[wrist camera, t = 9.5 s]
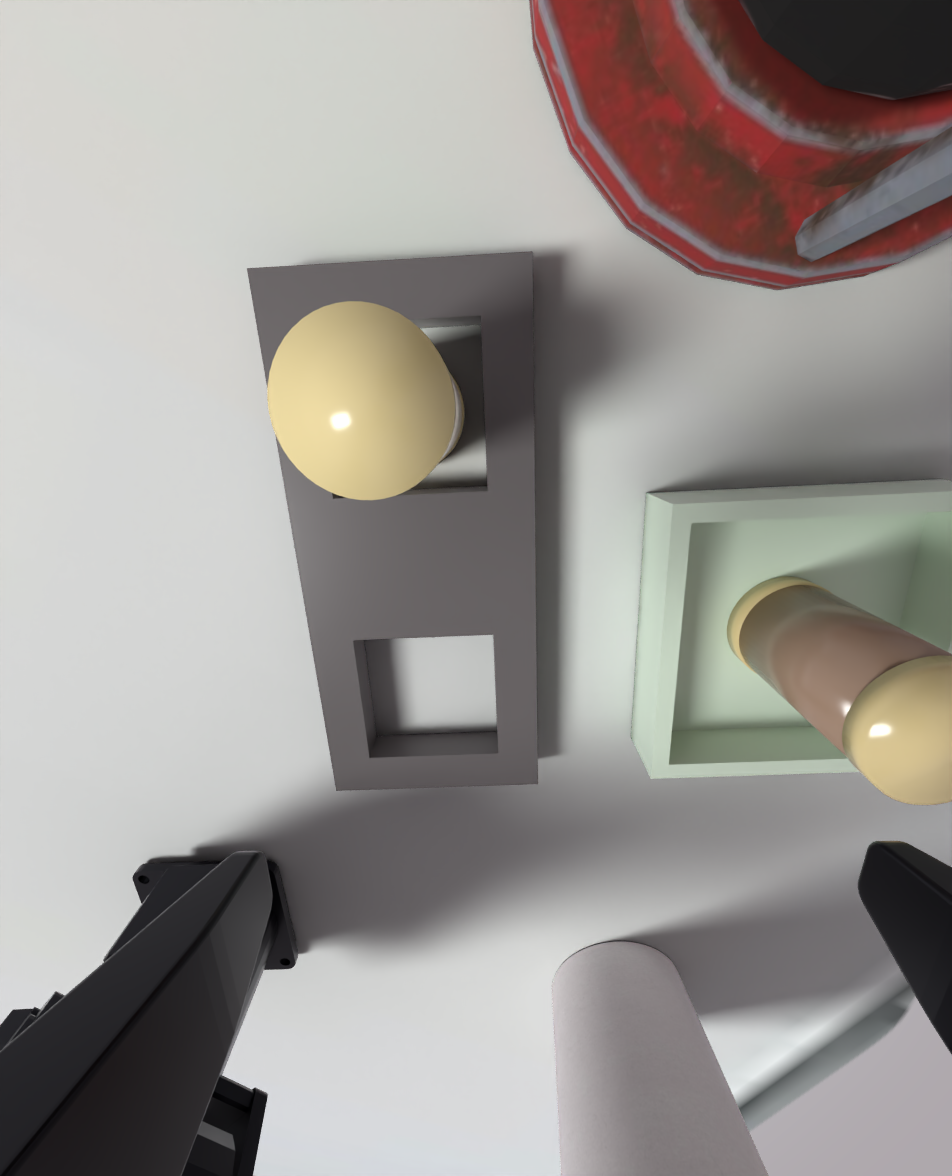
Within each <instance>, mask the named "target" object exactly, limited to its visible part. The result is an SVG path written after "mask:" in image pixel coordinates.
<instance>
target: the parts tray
mask: <svg viewBox="0 0 952 1176" xmlns="http://www.w3.org/2000/svg"><path fill="white" fill-rule="evenodd" d="M784 576H794V577H800V578H803V579H806V580H809V581H811V582H813V583H815V584H817V585H819V586H821V587H823V588H825V589H827V590H828V591H830V592H831V593H832V594H834V595H835V596H837V597H839V598H841V599H843V600H845V601H847V602H849V603H851V604H853V605H855V606H857V607H859V608H861V609H863V610H865V611H867V612H869V613H871V614H873V615H875V616H877V617H879V618H881V619H883V620H885V621H887V622H889V623H891V624H893V625H895V626H897V627H899V628H901V629H903V630H905V631H907V632H909V633H911V634H913V635H915V636H917V637H919V638H921V639H923V640H925V641H927V642H929V643H931V644H933V645H935V646H937V647H939V648H941V649H943V650H945V651H947V652H949V653H951V654H952V481H951V480H943V479H932V480H911V481H889V482H868V483H847V484H826V485H804V486H783V487H762V488H741V489H720V490H698V491H677V492H656V493H646V502H645V518H644V534H643V550H642V566H641V582H640V598H639V614H638V630H637V646H636V662H635V678H634V694H633V710H632V726H631V739H632V741H633V743H634V745H635V747H636V749H637V751H638V753H639V755H640V757H641V760H642V762H643V764H644V766H645V768H646V770H647V772H648V774H649V776H650V778H651V779H666V778H696V777H726V776H756V775H787V774H817V773H847V772H859V771H858V770H857V769H856V768H855V767H854V766H853V765H852V763H851V762H850V761H849V759H848V758H847V757H846V756H845V755H844V754H843V753H842V752H841V751H840V750H839V749H838V748H837V747H835V746H834V745H833V744H832V743H831V742H830V741H829V740H828V739H827V738H826V737H825V736H824V735H823V734H821V733H820V732H819V731H818V730H817V729H816V728H815V727H814V726H813V725H812V724H811V723H810V722H808V721H807V720H806V719H805V718H804V717H803V716H802V715H801V714H800V713H799V712H798V711H797V710H796V709H794V708H793V707H792V706H791V705H790V704H789V703H788V702H787V701H786V700H785V699H784V698H783V697H782V696H780V695H779V694H778V693H777V692H776V691H775V690H774V689H773V688H772V687H771V686H770V685H769V684H768V683H766V682H765V681H764V680H763V679H762V678H761V677H760V676H759V675H758V674H756V673H755V672H753V671H752V670H751V669H749V668H748V667H747V666H746V665H745V664H744V663H743V662H742V661H741V660H740V659H739V658H737V656H736V655H735V654H734V653H733V651H732V650H731V648H730V646H729V643H728V639H727V624H728V620H729V617H730V614H731V612H732V610H733V608H734V606H735V605H736V603H737V602H738V601H739V600H740V598H741V597H742V596H743V595H744V594H745V593H746V592H748V591H749V590H750V589H752V588H753V587H755V586H756V585H758V584H760V583H762V582H764V581H766V580H769V579H772V578H777V577H784Z"/></svg>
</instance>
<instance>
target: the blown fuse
mask: <svg viewBox="0 0 952 1176" xmlns="http://www.w3.org/2000/svg"><path fill="white" fill-rule="evenodd" d="M727 639H728V643H729V646H730V648H731V650H732V651H733V653H734V654H735V655H736V656H737V658H739V659H740V660H741V661H742V662H743V663H744V664H745V665H746V666H747V667H748V668H749V669H751V670H752V671H753V672H755V673H756V674H758V675H759V676H760V677H761V678H762V679H763V680H764V681H765V682H766V683H768V684H769V685H770V686H771V687H772V688H773V689H774V690H775V691H776V692H777V693H778V694H779V695H780V696H782V697H783V698H784V699H785V700H786V701H787V702H788V703H789V704H790V705H791V706H792V707H793V708H794V709H796V710H797V711H798V712H799V713H800V714H801V715H802V716H803V717H804V718H805V719H806V720H807V721H808V722H810V723H811V724H812V725H813V726H814V727H815V728H816V729H817V730H818V731H819V732H820V733H821V734H823V735H824V736H825V737H826V738H827V739H828V740H829V741H830V742H831V743H832V744H833V745H834V746H835V747H837V748H838V749H839V750H840V751H841V752H842V753H843V754H844V755H845V756H846V757H847V758H848V759H849V761H850V762H851V763H852V765H853V766H854V767H855V768H856V769H857V770H858V771H859V772H861V773H862V774H863V775H864V776H865V777H866V778H867V779H868V780H869V781H870V782H871V783H872V784H873V785H874V786H875V787H877V788H878V789H879V790H880V791H881V792H882V793H884V794H885V795H887V796H888V797H890V798H892V799H895V800H897V801H900V802H904V803H907V804H914V805H935V804H942V803H947V802H951V801H952V654H951V653H949V652H947V651H945V650H943V649H941V648H939V647H937V646H935V645H933V644H931V643H929V642H927V641H925V640H923V639H921V638H919V637H917V636H915V635H913V634H911V633H909V632H907V631H905V630H903V629H901V628H899V627H897V626H895V625H893V624H891V623H889V622H887V621H885V620H883V619H881V618H879V617H877V616H875V615H873V614H871V613H869V612H867V611H865V610H863V609H861V608H859V607H857V606H855V605H853V604H851V603H849V602H847V601H845V600H843V599H841V598H839V597H837V596H835V595H834V594H832V593H831V592H830V591H828V590H827V589H825V588H823V587H821V586H819V585H817V584H815V583H813V582H811V581H809V580H806V579H803V578H800V577H794V576H784V577H777V578H772V579H769V580H766V581H764V582H762V583H760V584H758V585H756V586H755V587H753V588H752V589H750V590H749V591H748V592H746V593H745V594H744V595H743V596H742V597H741V598H740V600H739V601H738V602H737V603H736V605H735V606H734V608H733V610H732V612H731V614H730V617H729V620H728V624H727Z"/></svg>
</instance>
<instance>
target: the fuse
mask: <svg viewBox="0 0 952 1176" xmlns="http://www.w3.org/2000/svg"><path fill="white" fill-rule="evenodd" d="M268 407H269V414H270V418H271V422H272V426H273V429H274V431H275V434H276V437H277V439H278V441H279V443H280V445H281V447H282V449H283V450H284V452H285V453H286V455H287V456H288V458H289V459H290V460H291V462H292V463H293V464H294V465H295V466H296V468H297V469H298V470H299V471H300V472H301V473H303V474H304V475H305V476H306V477H307V478H308V479H310V480H311V481H312V482H314V483H315V484H316V485H318V486H320V487H321V488H323V489H325V490H327V491H329V492H331V493H334V494H336V495H339V496H343V497H346V498H350V499H357V500H378V499H385V498H389V497H393V496H396V495H398V494H401V493H403V492H405V491H407V490H409V489H411V488H412V487H414V486H415V485H417V484H418V483H419V482H421V481H422V480H423V479H424V478H425V477H426V476H427V475H428V474H429V473H430V472H431V471H432V470H433V469H434V468H435V467H436V466H437V464H438V463H439V462H441V461H442V460H443V459H445V458H446V457H447V456H448V455H449V453H450V452H451V451H452V450H453V449H454V447H455V446H456V444H457V442H458V441H459V438H460V436H461V433H462V430H463V426H464V419H465V409H464V402H463V397H462V394H461V391H460V389H459V386H458V384H457V383H456V381H455V379H454V377H453V376H452V375H451V373H450V372H449V371H448V369H447V367H446V365H445V363H444V361H443V359H442V357H441V355H440V354H439V352H438V350H437V349H436V348H435V346H434V345H433V343H432V342H431V340H430V339H429V338H428V337H427V336H426V335H425V334H424V332H423V331H422V330H421V329H420V328H418V327H417V326H416V325H415V324H414V323H413V322H411V321H410V320H409V319H407V318H406V317H404V316H403V315H401V314H400V313H398V312H395V311H393V310H391V309H389V308H387V307H384V306H381V305H377V304H374V303H368V302H362V301H347V302H339V303H334V304H331V305H327V306H324V307H322V308H320V309H317V310H315V311H313V312H311V313H310V314H308V315H307V316H305V317H304V318H302V319H301V320H300V321H299V322H298V323H297V324H296V325H295V326H294V327H292V329H291V330H290V331H289V332H288V334H287V335H286V336H285V337H284V339H283V341H282V342H281V344H280V346H279V347H278V349H277V352H276V354H275V356H274V359H273V361H272V365H271V369H270V372H269V379H268Z"/></svg>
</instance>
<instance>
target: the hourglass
mask: <svg viewBox="0 0 952 1176" xmlns="http://www.w3.org/2000/svg"><path fill="white" fill-rule="evenodd" d="M529 3H530V15H531V27H532V39H533V49H534V52H535V55H536V58H537V61H538V64H539V66H540V69H541V72H542V75H543V78H544V81H545V83H546V86H547V89H548V92H549V95H550V98H551V101H552V103H553V106H554V109H555V112H556V115H557V118H558V120H559V123H560V126H561V129H562V132H563V135H564V137H565V140H566V143H567V146H568V149H569V152H570V154H571V155H572V156H573V158H574V159H575V160H576V162H577V163H578V164H579V166H580V167H581V168H582V170H583V171H584V172H585V174H586V175H587V176H588V178H589V179H590V180H591V182H592V183H593V184H594V186H595V187H596V189H597V190H598V191H599V193H600V194H601V195H602V197H603V198H604V199H605V201H606V202H607V203H608V205H609V206H610V207H611V209H612V210H613V211H614V213H615V214H616V215H617V217H618V218H619V219H620V221H621V222H622V223H623V225H624V226H625V227H626V229H628V230H629V231H631V232H633V233H634V234H636V235H637V236H639V237H640V238H642V239H643V240H645V241H646V242H648V243H649V244H651V245H653V246H654V247H656V248H657V249H659V250H660V251H662V252H663V253H665V254H666V255H668V256H669V257H671V258H673V259H674V260H676V261H677V262H679V263H680V264H682V265H683V266H685V267H686V268H688V269H689V270H691V271H693V272H694V273H696V274H698V275H703V276H708V277H713V278H718V279H723V280H728V281H733V282H738V283H743V284H748V285H753V286H758V287H763V288H768V289H773V290H782V289H788V288H794V287H800V286H807V285H813V284H819V283H825V282H831V281H837V280H843V279H849V278H856V277H862V276H865V275H867V274H869V273H873V272H876V271H878V270H881V269H883V268H886V267H889V266H891V265H894V264H896V263H899V262H901V261H903V260H905V259H907V258H909V257H911V256H913V255H915V254H917V253H919V252H921V251H923V250H925V249H927V248H929V247H931V246H933V245H935V244H937V243H939V242H941V241H943V240H945V239H947V238H949V237H951V236H952V0H529Z"/></svg>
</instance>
